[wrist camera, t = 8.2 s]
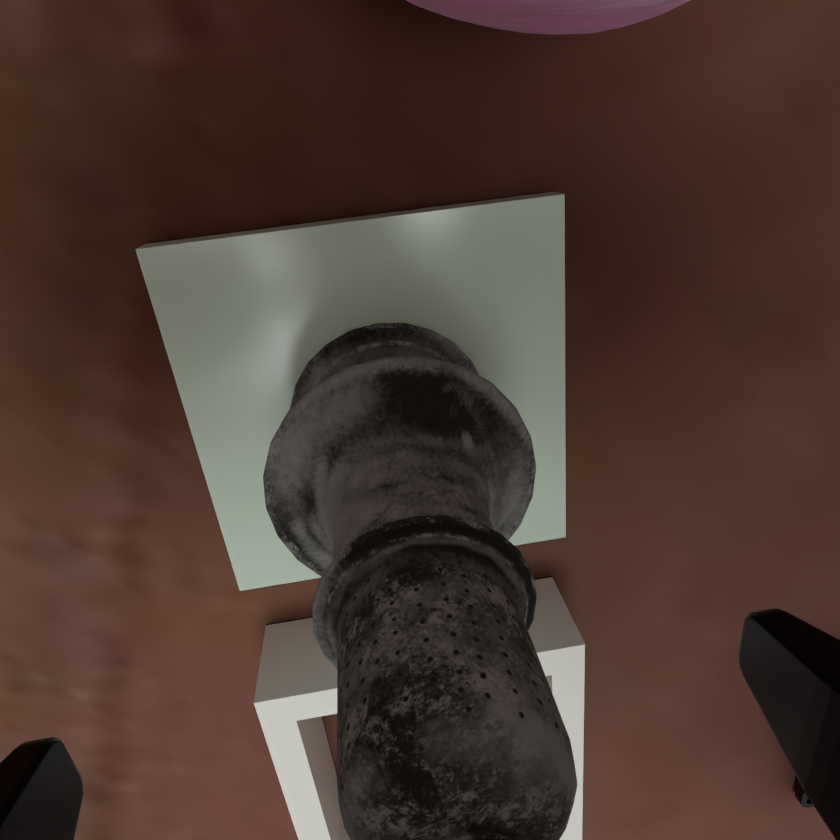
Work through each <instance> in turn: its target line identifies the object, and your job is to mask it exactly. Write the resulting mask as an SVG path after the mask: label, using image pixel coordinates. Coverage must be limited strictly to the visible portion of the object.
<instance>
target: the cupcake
mask: <svg viewBox="0 0 840 840" xmlns="http://www.w3.org/2000/svg"><path fill="white" fill-rule="evenodd" d="M406 1H408V2H410V3H412V4H414V5H416V6H418V7H421V8H424V9H427V10H429V11H432V12H435V13H438V14H441V15H444V16H447V17H449V18H452V19H456V20H460V21H465V22H469V23H473V24H477V25H482V26H486V27H490V28H496V29H502V30H508V31H514V32H520V33H531V34H548V35H564V34H591V33H597V32H602V31H607V30H612V29H617V28H622V27H625V26H628V25H632V24H635V23H638V22H641V21H644V20H647V19H650V18H653V17H657V16H660V15H662V14H664V13H666V12H668V11H670V10H672V9H674V8H676V7H678V6H680V5H682V4H684V3H686V2H688V1H690V0H406Z"/></svg>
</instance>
